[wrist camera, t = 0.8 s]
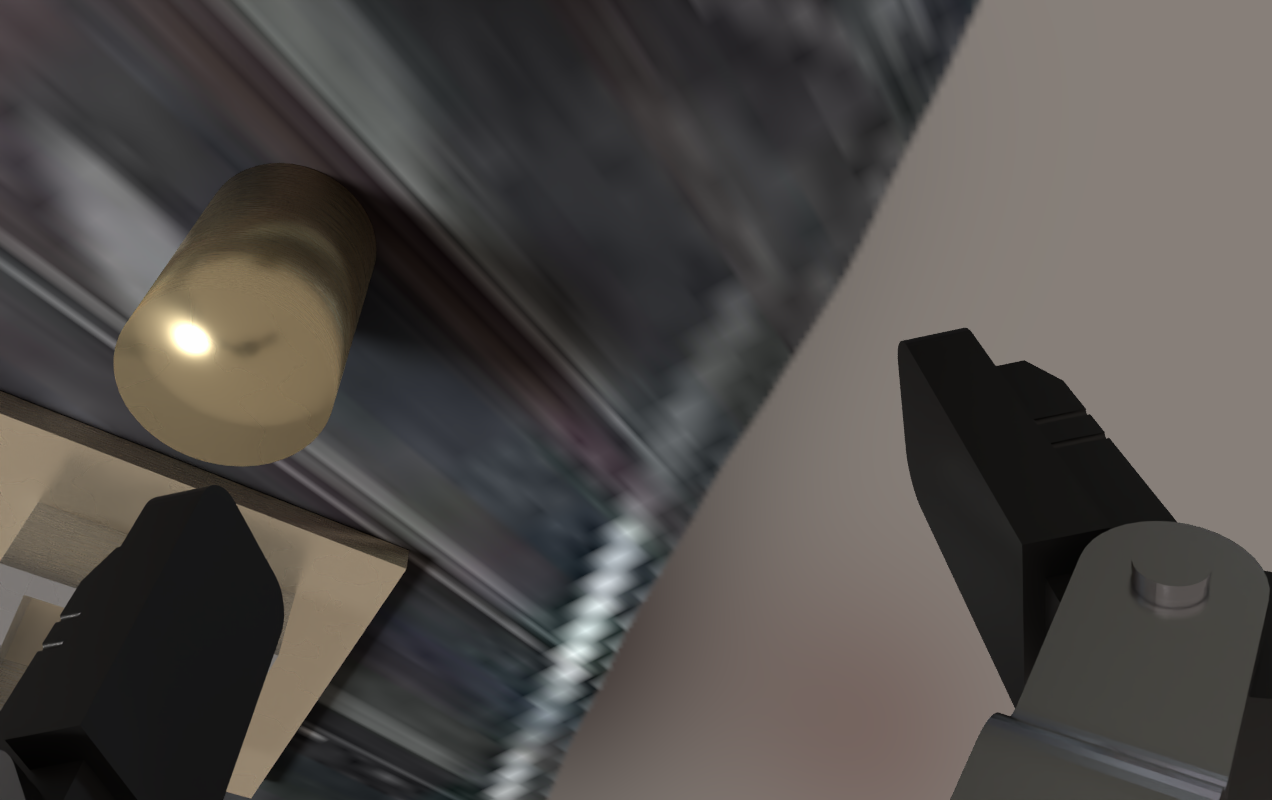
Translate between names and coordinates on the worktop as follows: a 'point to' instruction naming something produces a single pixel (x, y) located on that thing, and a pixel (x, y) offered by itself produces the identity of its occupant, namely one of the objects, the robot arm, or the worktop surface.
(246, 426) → the brass cylinder plug
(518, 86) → the worktop surface
